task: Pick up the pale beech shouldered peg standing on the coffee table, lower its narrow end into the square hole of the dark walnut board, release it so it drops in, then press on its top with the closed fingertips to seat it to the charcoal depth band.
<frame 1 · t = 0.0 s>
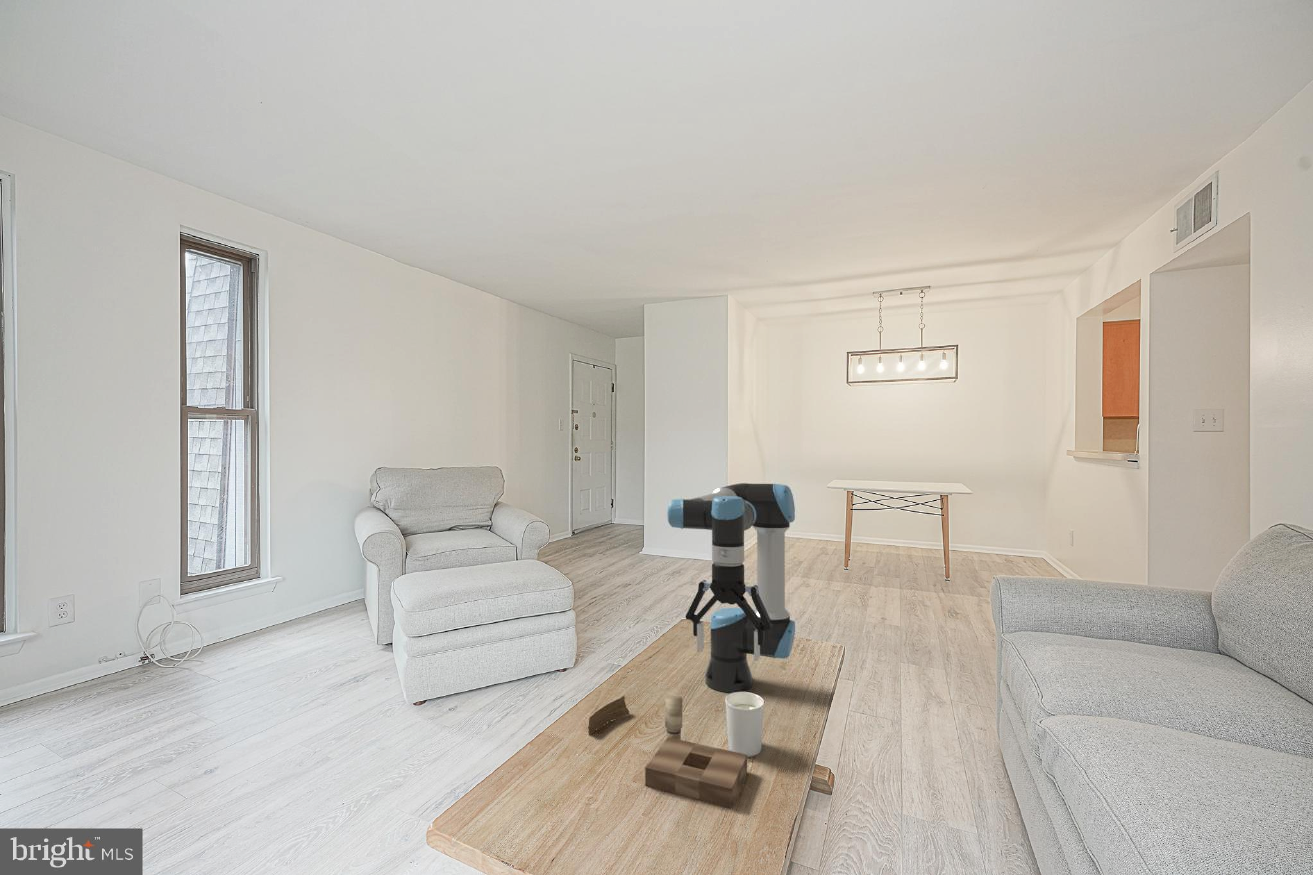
hand: (728, 654, 128), 28 cm above the table, fingers open, 13 cm apart
board: (697, 778, 126), on the table
wood plank: (608, 724, 151), on the table
peg: (673, 745, 140), on the table
candle holder: (744, 748, 139), on the table
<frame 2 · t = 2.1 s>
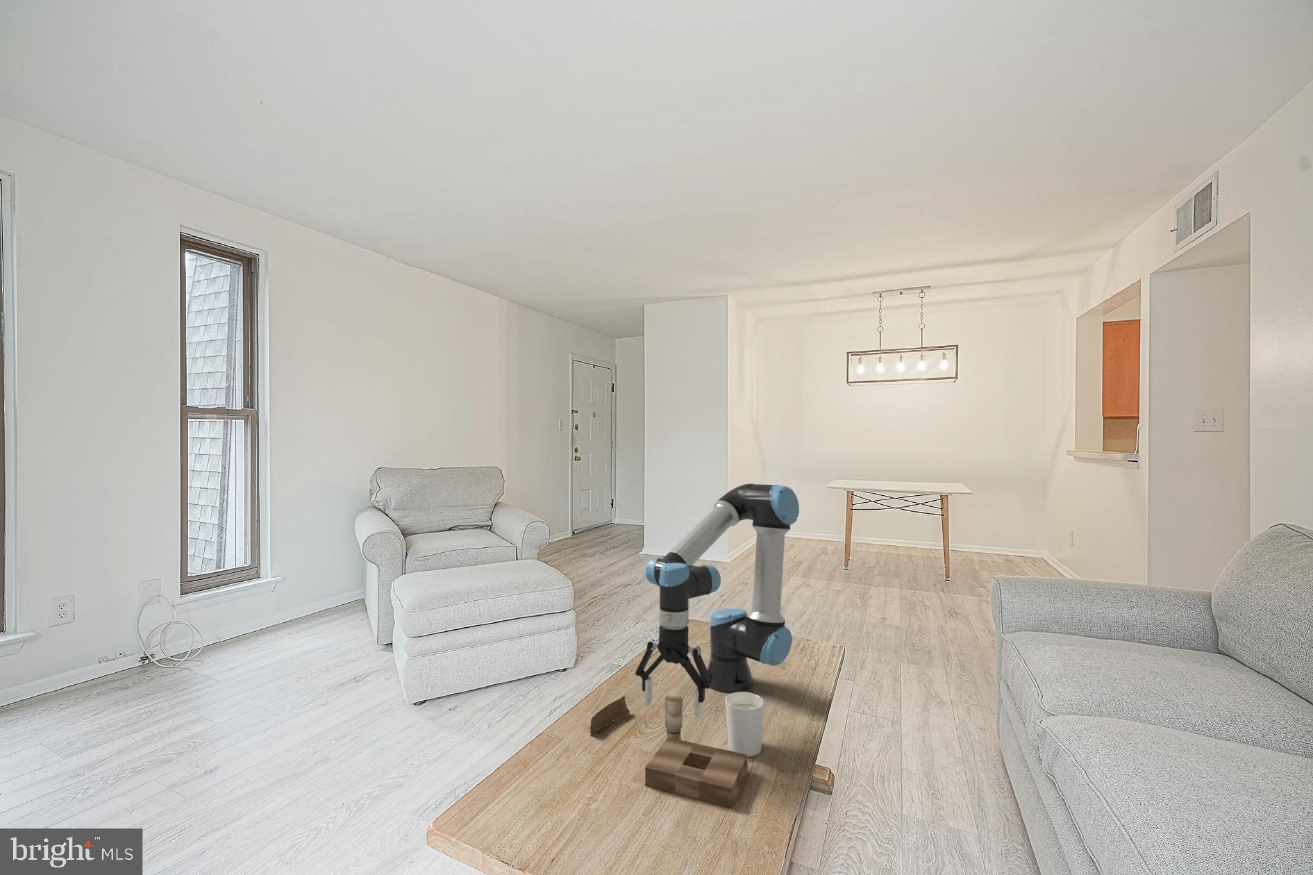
hand: (672, 709, 140), 9 cm above the table, fingers open, 13 cm apart
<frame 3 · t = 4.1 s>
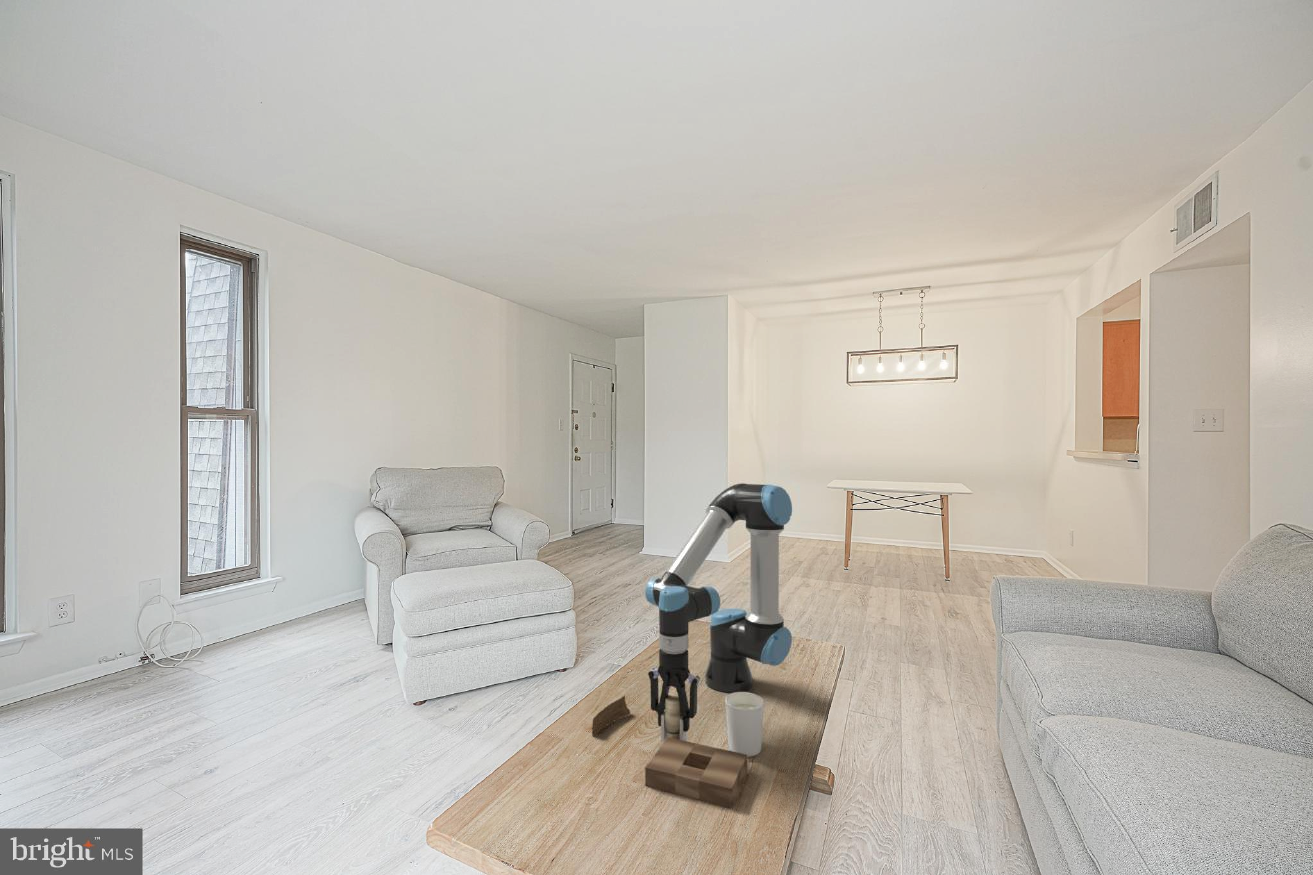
hand: (673, 740, 140), 1 cm above the table, fingers closed on peg, 4 cm apart
peg: (673, 745, 140), on the table, touching gripper
everything else where it was.
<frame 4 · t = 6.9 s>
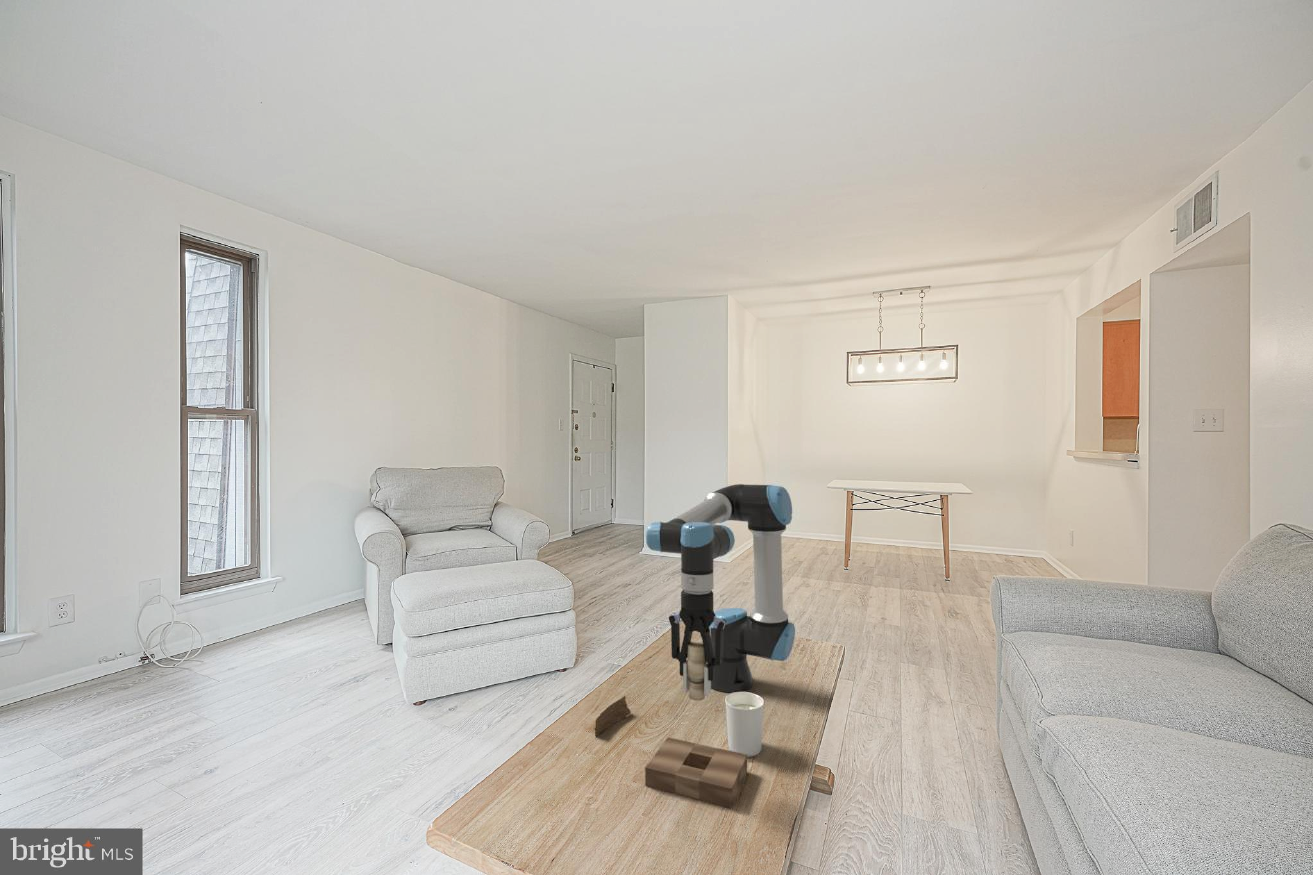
hand: (697, 691, 127), 20 cm above the table, fingers closed on peg, 4 cm apart
peg: (697, 696, 127), point 19 cm above the table, touching gripper
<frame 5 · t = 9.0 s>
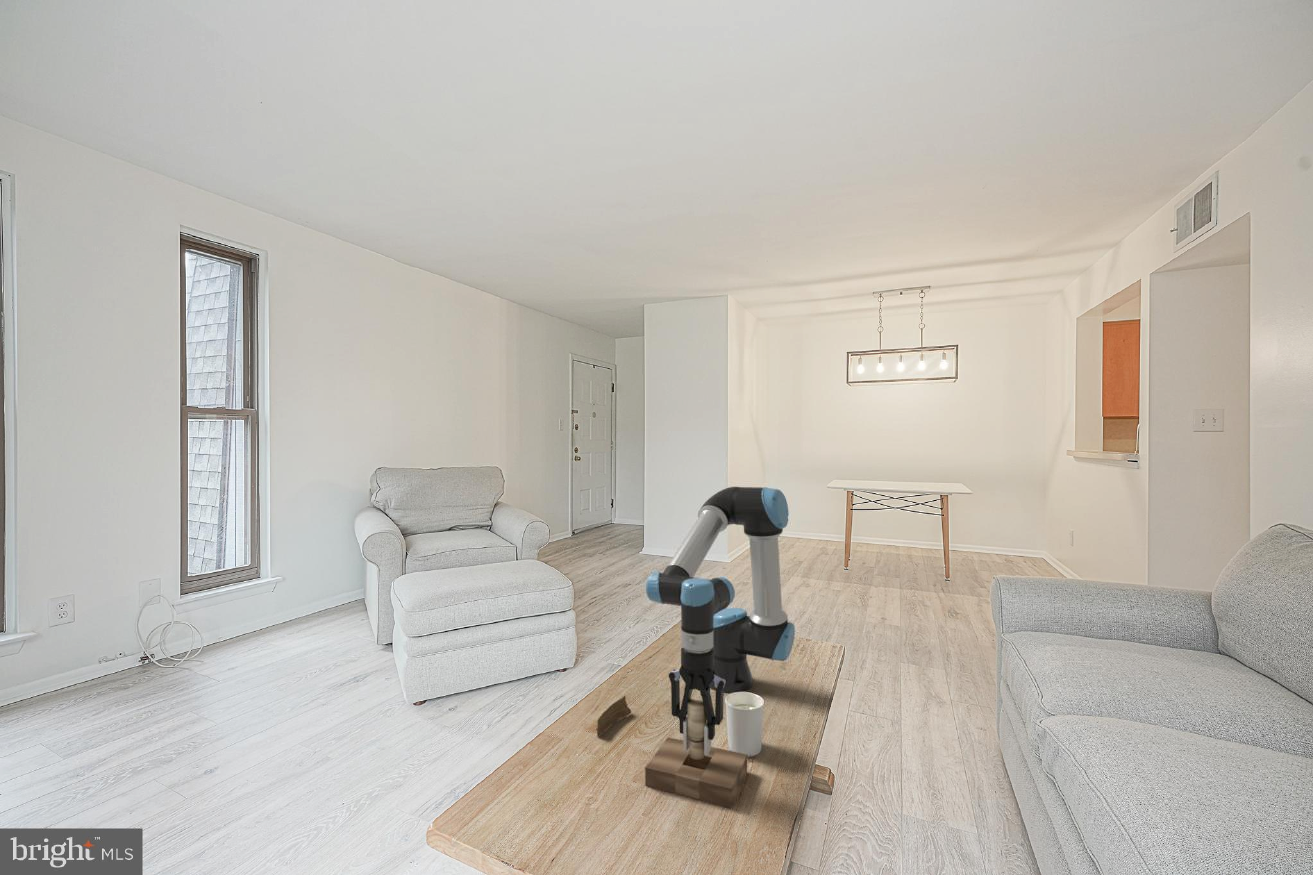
hand: (697, 749, 126), 7 cm above the table, fingers closed on peg, 4 cm apart
peg: (696, 755, 126), point 5 cm above the table, touching gripper
when the fingers open (5 cm above the table, at t = 10.2 s): peg drops 3 cm, resting in board.
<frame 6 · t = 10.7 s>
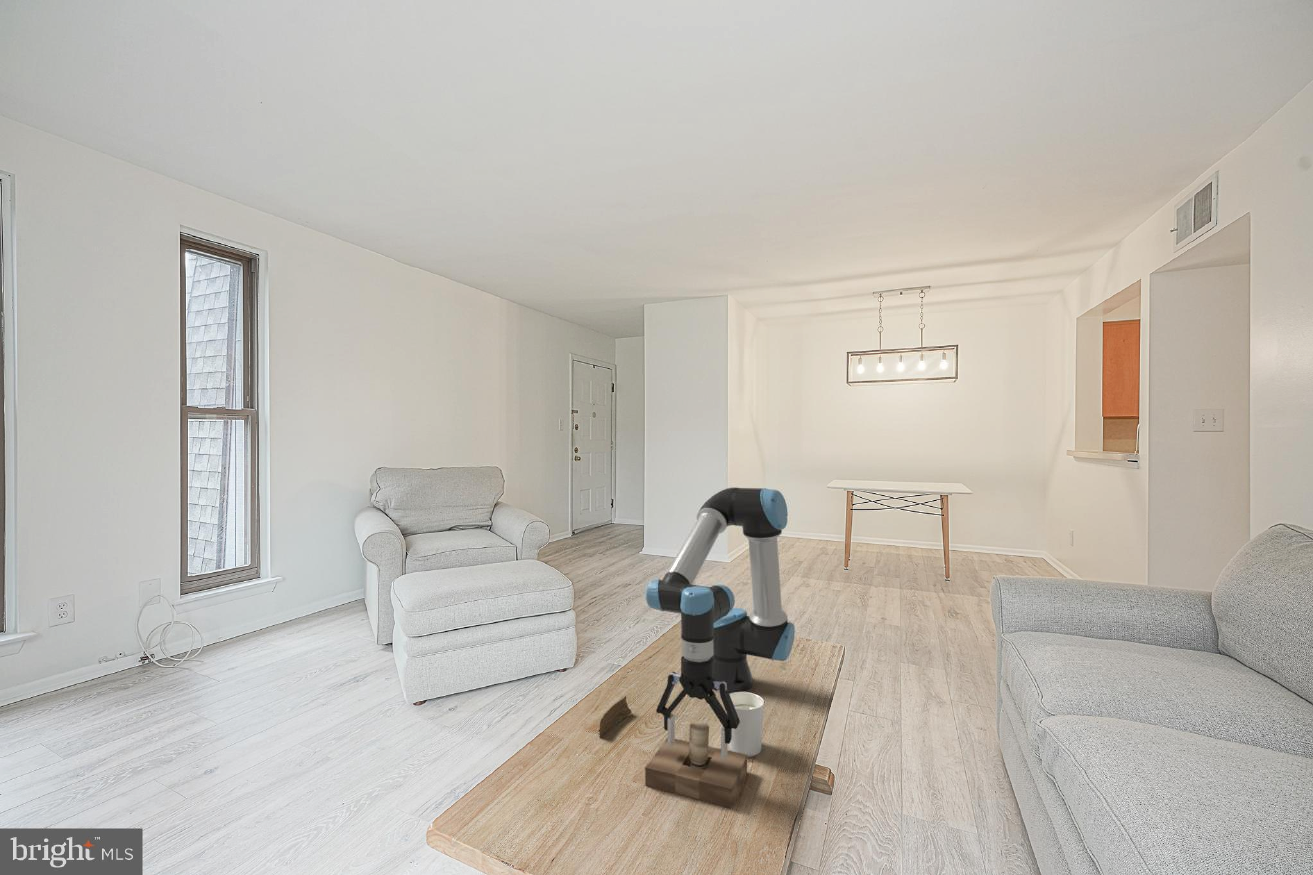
hand: (697, 750, 126), 6 cm above the table, fingers open, 12 cm apart
peg: (697, 778, 126), resting in board
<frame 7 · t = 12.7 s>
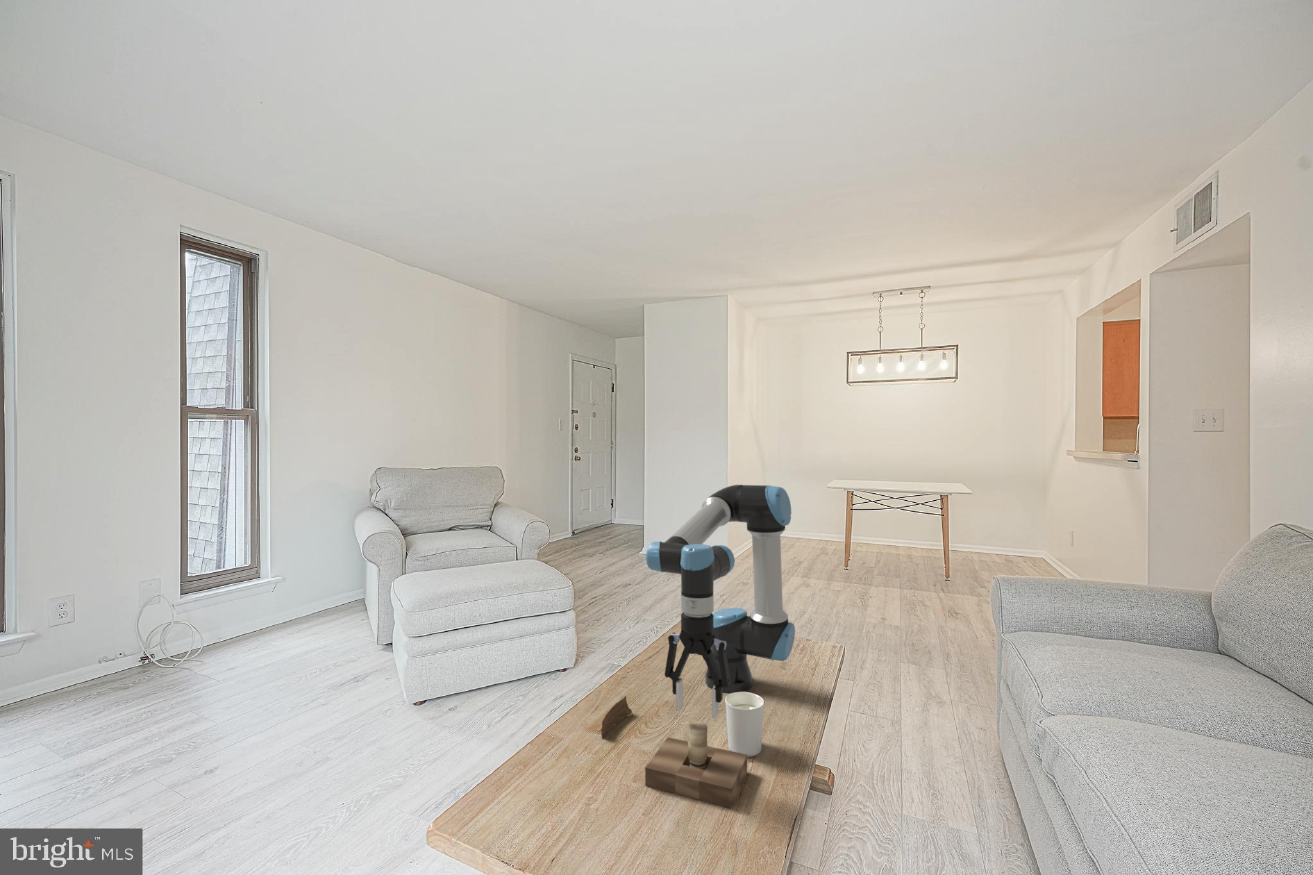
hand: (697, 711, 127), 15 cm above the table, fingers open, 8 cm apart
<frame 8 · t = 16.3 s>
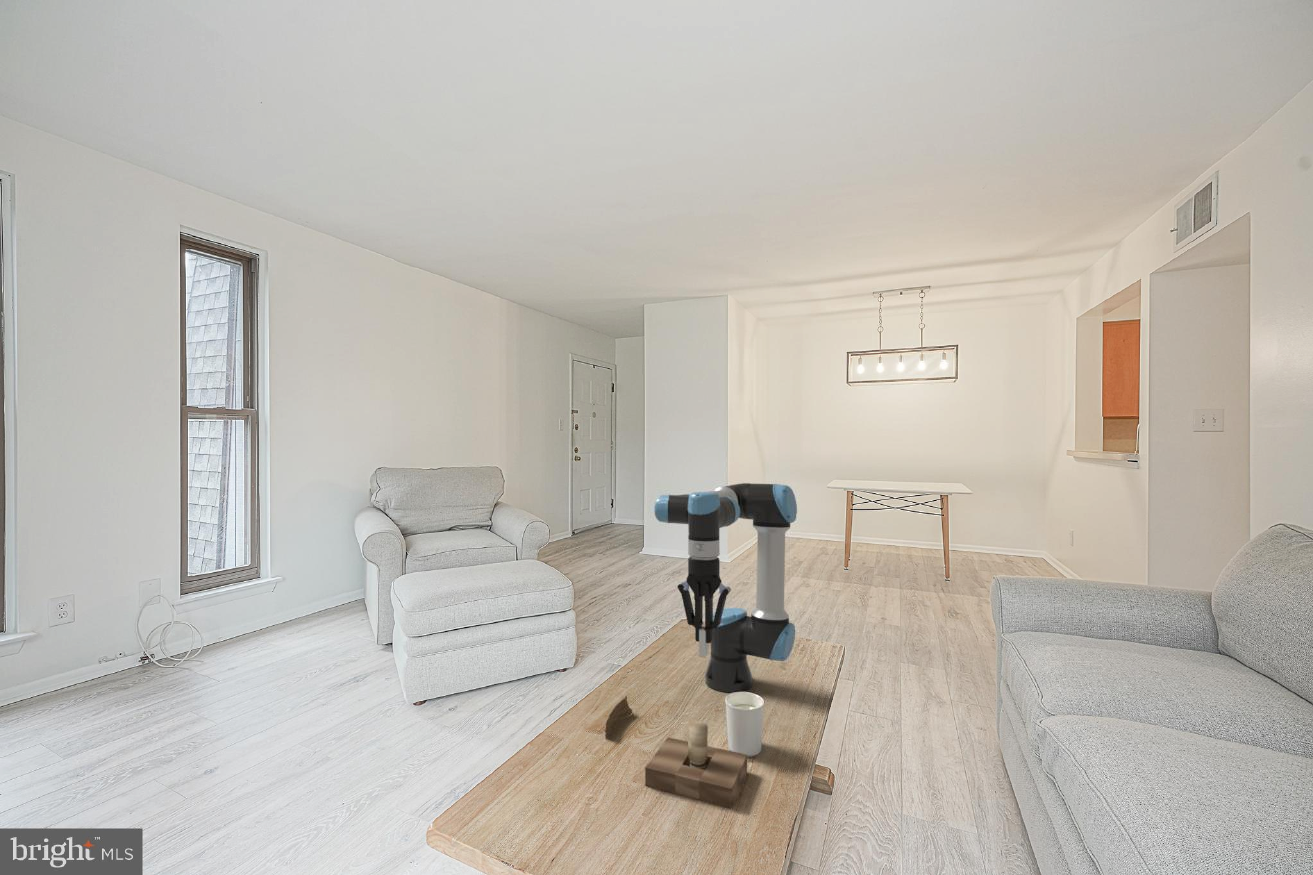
hand: (703, 655, 131), 26 cm above the table, fingers closed
at the end: peg 0.1 cm off-centre on the board, point 0.0 cm above the board's base; peg tilted 0°; the gripper is holding nothing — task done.
